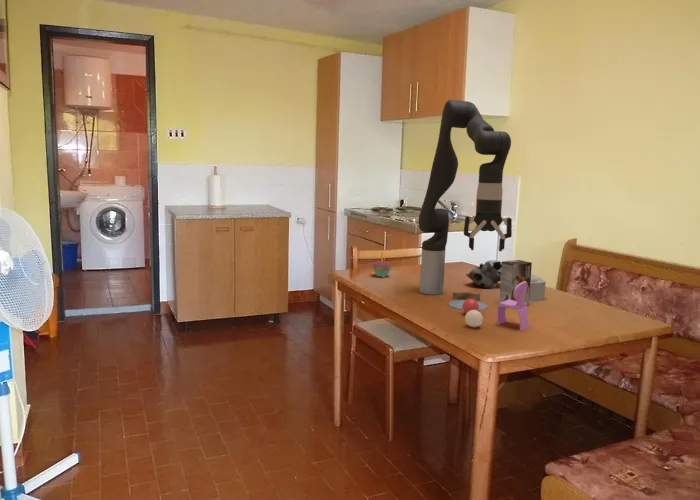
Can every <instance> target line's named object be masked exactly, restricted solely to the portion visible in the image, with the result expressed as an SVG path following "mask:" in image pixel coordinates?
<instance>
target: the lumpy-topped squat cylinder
mask: <svg viewBox="0 0 700 500" xmlns="http://www.w3.org/2000/svg"><path fill="white" fill-rule="evenodd" d="M546 283H547V282H546V280H545V279H542V278H541V277H540V276H538V275H535V274H531V282H530V297H529V302H536V301H537V302H538V301H544V300H545V298H546V297H545V296H546Z"/></svg>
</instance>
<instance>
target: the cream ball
mask: <svg viewBox="0 0 700 500" xmlns="http://www.w3.org/2000/svg"><path fill="white" fill-rule="evenodd" d="M464 321H465V324H467V326H469V327H471V328H478V327H479V326H481V325H482V323H483V321H484V319H483V314H482V313H481V312H480V310H479V311H477V310H470V311H468V312H467V314H466V313H465V316H464Z"/></svg>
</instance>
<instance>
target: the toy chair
mask: <svg viewBox="0 0 700 500" xmlns="http://www.w3.org/2000/svg"><path fill="white" fill-rule="evenodd" d="M527 287H528V284H527V282H526V281H524V282H521V283H520V284H518V285H517V286H516V287H515V289H514V294H513V297H515V298H516V299H517V301H513V300H509V299H508V300H506V301H503V302H500V303H499V302H498V305H497V308H496V311H497V312H496V314H497V315H496V316H497V318H496V325H497V326H498V325H501V324H503V323H506V322H508V319H507V316H506V308H509V309H512V310H516V312H517V314H518V318H519V331H523V330H525V329H528V328H530V323H529V320H528V310H529V309H528V305H527V303H524V298H525V293H526V290H527Z"/></svg>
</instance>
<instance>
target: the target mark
mask: <svg viewBox="0 0 700 500" xmlns="http://www.w3.org/2000/svg"><path fill="white" fill-rule="evenodd" d="M464 301H465V300H461V299H453V300H451V301H449V302H448V303H447V305H448V306H449V307H450V308H452V309H455V310H460V311H463V308H462V306H463V303H464ZM476 301H477V303H478V305H479V309H478V311H479V312H480V311H483V310H486V309H488V304H486V303H484V302H481V301H479V300H476Z"/></svg>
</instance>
